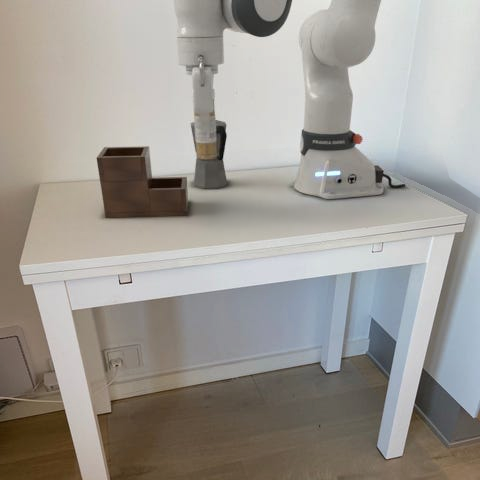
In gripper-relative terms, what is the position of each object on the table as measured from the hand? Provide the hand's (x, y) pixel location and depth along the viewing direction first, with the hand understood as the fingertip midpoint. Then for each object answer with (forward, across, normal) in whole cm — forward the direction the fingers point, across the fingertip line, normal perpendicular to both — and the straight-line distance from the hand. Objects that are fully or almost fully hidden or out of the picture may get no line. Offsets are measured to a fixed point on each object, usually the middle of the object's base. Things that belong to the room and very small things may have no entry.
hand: (205, 129), depth 103 cm
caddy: (+18, +3, +14) cm, 23 cm away
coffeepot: (+18, +21, -1) cm, 28 cm away
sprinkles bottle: (+6, 0, 0) cm, 6 cm away
